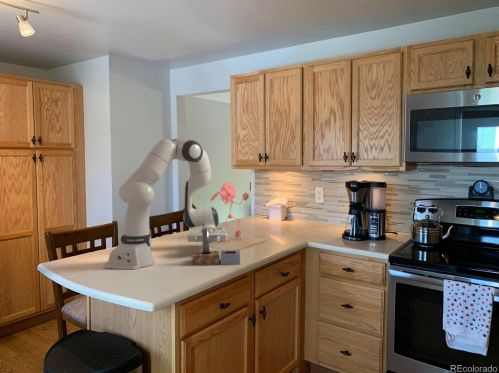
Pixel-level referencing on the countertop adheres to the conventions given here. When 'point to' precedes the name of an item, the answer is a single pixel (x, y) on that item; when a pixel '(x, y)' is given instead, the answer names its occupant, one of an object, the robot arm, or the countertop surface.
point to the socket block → (230, 257)
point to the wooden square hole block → (205, 258)
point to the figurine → (228, 195)
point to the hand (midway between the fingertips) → (206, 240)
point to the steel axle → (205, 241)
